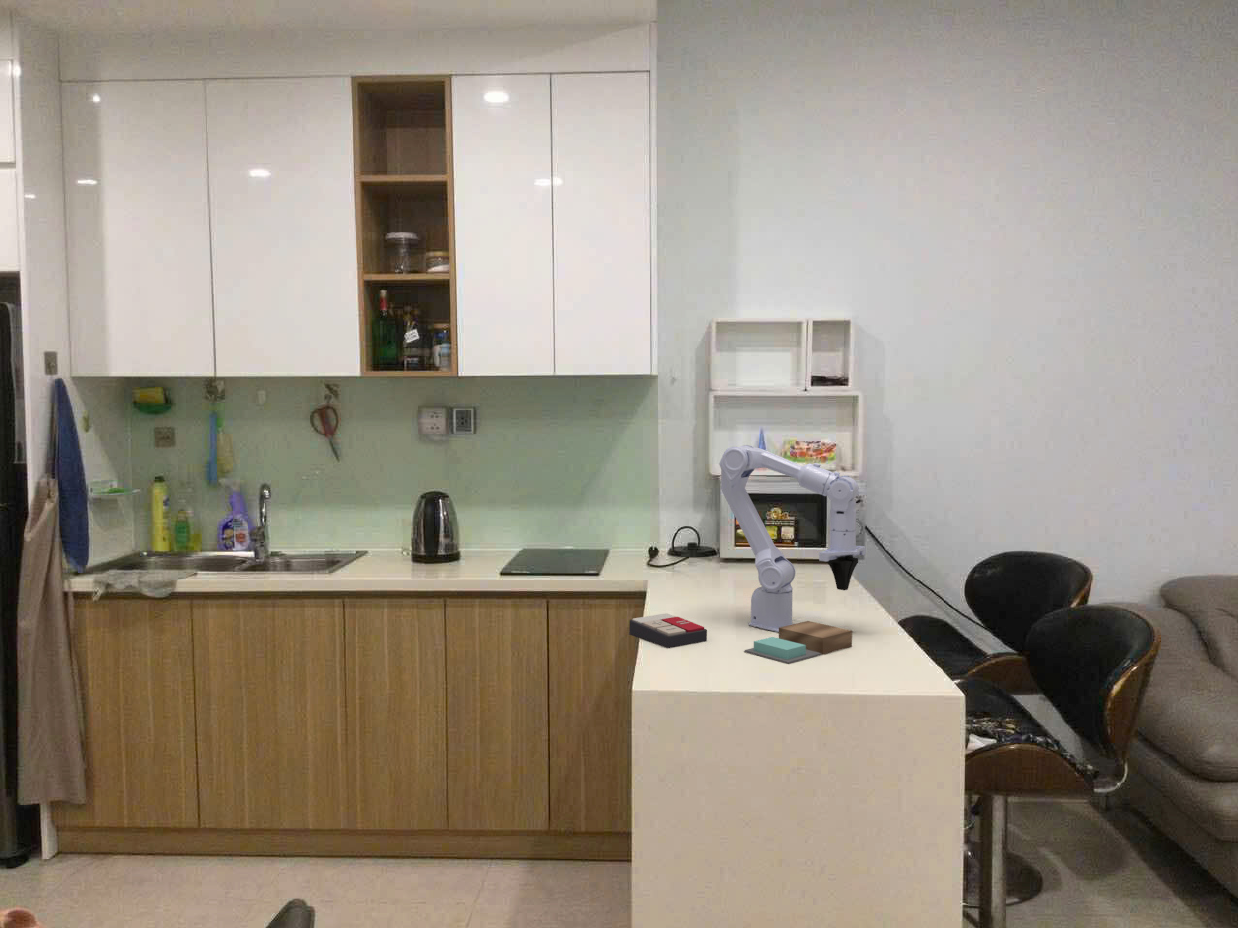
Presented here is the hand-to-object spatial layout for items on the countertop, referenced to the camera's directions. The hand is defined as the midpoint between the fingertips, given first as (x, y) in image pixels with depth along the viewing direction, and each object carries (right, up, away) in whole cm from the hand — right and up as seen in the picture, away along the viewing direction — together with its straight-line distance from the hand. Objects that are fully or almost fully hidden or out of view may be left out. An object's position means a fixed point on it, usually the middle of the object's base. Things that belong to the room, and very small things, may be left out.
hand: (842, 589), depth 208 cm
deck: (-8, -11, -8) cm, 16 cm away
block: (-17, -10, -16) cm, 26 cm away
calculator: (-40, -11, -2) cm, 41 cm away
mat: (-16, -11, -15) cm, 25 cm away
